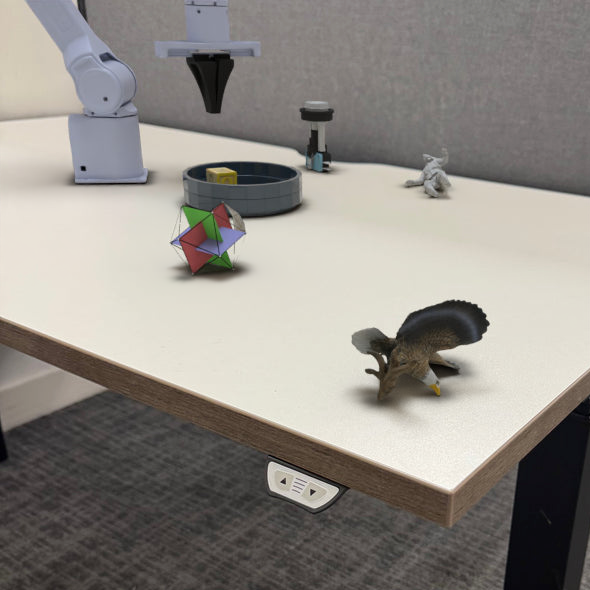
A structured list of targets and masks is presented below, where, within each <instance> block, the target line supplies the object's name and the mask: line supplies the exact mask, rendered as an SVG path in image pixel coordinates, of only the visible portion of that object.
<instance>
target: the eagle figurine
mask: <svg viewBox="0 0 590 590" xmlns="http://www.w3.org/2000/svg"><path fill="white" fill-rule="evenodd" d="M478 305H479V304H478V303H472V302H471V301H466V300H465V299H464V300H461V299H447V300H444V301H442V302H439V303H436V304H433V305H429V306H426V307H424V308H419V309H418V310H414V311H412V312H409V314H407V316H406V318H405V319H404V321H403V322H402V323H401V325H400V327H398V330H397V331H396V335H395V337H388V336H387V335H386V334H384V333H383V332H382V331H381V329H379V328H378V327H367V328H362V329H359V330H357V331H355V332H353V334H351V344H352V346H353V347H354V348H355V349H356V350H357V351H358V352H359V353H360V354H363V355H368V356H369V355H370V356H372V357H373V358H374V359H375V361H376V362H377V364H378V370H375V369H374V368H369V367H368V368H365V369H364V372H365V374H367V375H373V376H374V377H375V378H377V379H378V380H379V383H378V384H379V385H378V386H379V387H378V392H377V394H376V395H377V396H376V400H377V401H379V402H380V401H381V400H383V399H384V398H386V397H387V396H388V394H391V393H392V392H393V389H395V385H396V382H397V380H398V378H399V377H401V375H404V374H407V375H408V376H410V377H412V378H414V379H417V380H419V381H421V382H422V383H424V385H426V386H427V387H429V388H430V389H432V390H433V391H434V392H435V393H436V395H437V396H440V395H442V394H441V388H440V385H441V383H440V382H441V381H440V380H439V378H438V377H437V375H436V374H435V372H434V371H433V369H432V368H431V367H430V366H431V365H430V364H434V365H441V366H445V367H450V368H452V369H455V370H461V367H460V365H458V364H456V362H451V361H449V360H446V359H444V357H442V356H441V355H440V353H438V352H440V351H449V350H453V349H454V350H455V349H456V348H457V347H460V346H470V345H473V344H476V343H478V342H480V341H482V340H483V335H484V334H485V333H487V331H488V327H490V325H491V323H490V321H489V320H488V319H487V317H488V316H487V313H485V312H484V311H483V308H481V307H479V306H478ZM384 356H385V358H386V360H385V358H384Z"/></svg>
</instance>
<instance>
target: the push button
mask: <svg viewBox="0 0 590 590" xmlns="http://www.w3.org/2000/svg"><path fill="white" fill-rule="evenodd" d="M298 112H300V120H302V121H304V122H305V123H306V124H308V132H309V133H308V144H307V145H306V149H305V167H306V168H308V169H309V170H314V171H316V172H319V173H320V172H329V171H332V170H333V169H332V168H330V165H333V163H332V154H331V153H330V152H329V151H328V145H327V144H326V125H327V124H329V122H331V121H332V120H334V119H333V118H334V116H333V114H334V113H335V109H334V108H331V107H330V106H329V102H327V101H322V100H308V101H304V106H303V107H300V108H299V111H298Z"/></svg>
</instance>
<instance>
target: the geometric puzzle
mask: <svg viewBox="0 0 590 590" xmlns="http://www.w3.org/2000/svg"><path fill="white" fill-rule="evenodd" d="M217 203H220V202H217ZM204 204H208V203H204ZM192 205H195V204H192ZM224 205H225V206H226V207H227V209H228V210H229V212H230V213H231V215H232V216H231V217H232V222H231V219H230V218H229V216H228V215H227V212H226V209H225V206H224ZM213 209H214V208H213ZM213 209H212V210H213ZM179 210H183V211H182V212H183V213H184V216H185V219H186V221H187V223H188V225H189V226H188V227H187V228H186V229H185V230H183V231H182V232H180V231H181V225H179V226H178V227H179V228H178V233H179V234H178V235H177V236H176V237H175V238H174V239H173V235H174V232H175V231H173V232H172V234H171V237H170V238H171V239H170V242H169V245H171V246H172V248H173V249H175V247H176V248H178V249H179V250H181V251H182V252H183V254H184V256H185V258H186V261H187V263H188V265H187V263H186V262H185V261H184V259H183V258H182V257H181V255H180V254H178V256H179V257H180V259H181V260H182V261H183V262H184V264H185V265H186V267H187V268H188V269H189V271H190V272H191V275H197V274H199V273H198V272H199V271H201V270H202V269H203V268H205V267H206V266H208V265H210V264H212V265H214V266H215V265H216V266H219V267H222V268H227V269H229V271H232V270H233V271H234V270H235V267H236V263H237V260H238V257H239V256H237V258H236V259H235V261H236V262H235V261H231V259H230V255H229V253H228V251H229V250H230V248H231V247H232V246H233V253H235V250H236V249H235V248H236V243H238V241H239V240H240V239H241V238H242V237H243V241H242V242H244V240H245V237H246V235H247V234H248V231H246V225H245V222H244V220H243V218H242V217H241V216H240V214H239V213H237V212H236V211H235V210H233V209H232V208H230V207H229V206H228V205H226V204H225V203H223V202H222V203H220V204H219V205H217V206H216V207H215V209H214V210H213V211H212V210H210V211H212V212H210V211H209V212H208V211H204V210H200V209H196V208H193V207H192V206H188V205H184V204H180V208H179ZM181 218H182V213H181V211H179V213H178V215H177V219H176V220H178V219H179V222H181V220H182V219H181ZM175 222H176V223H175V226H174V229H173V230H175V229H176V226H177V221H175ZM175 253H178V251H177V250H175ZM232 262H233V264H232ZM222 271H223V272H224V269H222V270H220V272H222ZM214 272H216V270H214V271H212V273H214ZM204 273H207V271H205V272H203V274H204Z"/></svg>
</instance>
